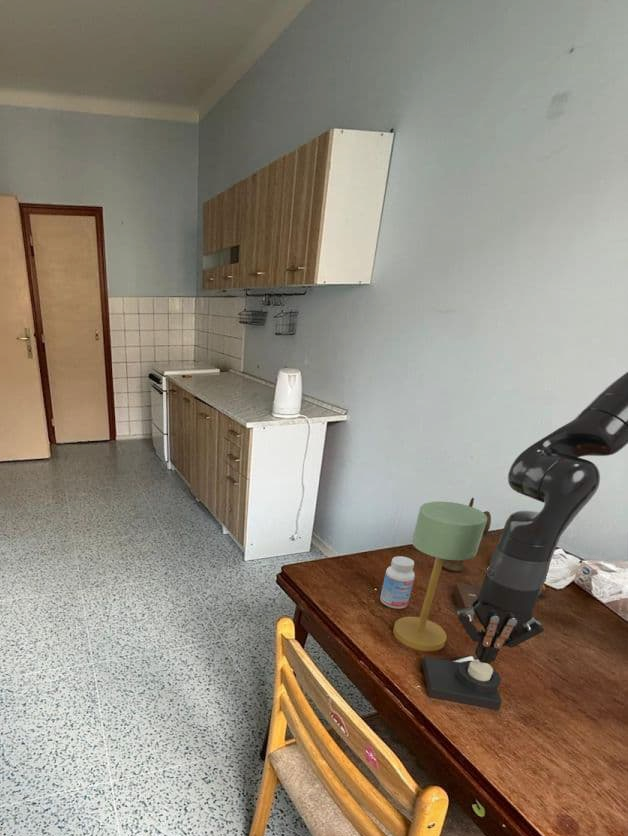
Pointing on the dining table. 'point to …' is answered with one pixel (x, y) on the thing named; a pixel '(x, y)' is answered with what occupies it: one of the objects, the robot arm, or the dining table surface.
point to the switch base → (460, 684)
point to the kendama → (457, 564)
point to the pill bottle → (398, 583)
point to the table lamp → (440, 562)
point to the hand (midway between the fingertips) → (483, 660)
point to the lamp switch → (480, 670)
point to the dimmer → (466, 595)
